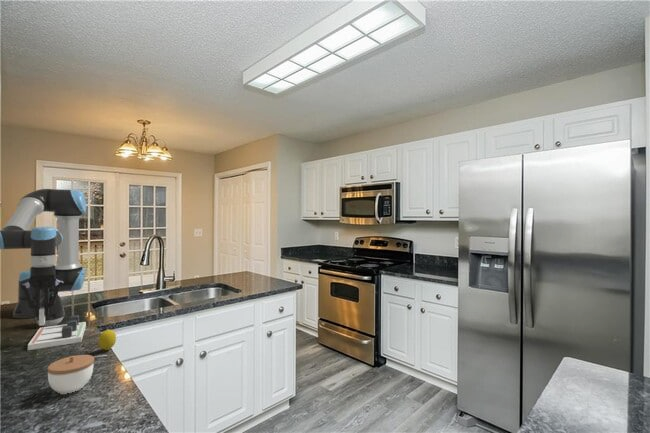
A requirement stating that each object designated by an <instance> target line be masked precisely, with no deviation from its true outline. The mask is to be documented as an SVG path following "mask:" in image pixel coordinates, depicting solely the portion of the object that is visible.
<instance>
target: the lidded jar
mask: <svg viewBox="0 0 650 433" xmlns="http://www.w3.org/2000/svg"><path fill="white" fill-rule="evenodd" d="M94 364H95V357H94V356H93V355H90V354H78V355H71V356H67V357H63V358H61V359H58V360H55V361H54V362H52V363H51V364H49V365H48V367H47V379H48V380H47V381H48V383H49V386H50V388H51V389H52V390H53V391H55V392H56V393H58V394H59V393H60V394H59V395H68V394H67V393H69V394H73V393H76V392H78V391H81V390H82V389H83V388H84V387H85V385H86V384H87V383H88V382H89V381H90V380H91V377H92V375H93V372H94V367H95V366H94ZM81 388H82V389H81ZM75 391H76V392H75ZM72 392H73V393H72Z"/></svg>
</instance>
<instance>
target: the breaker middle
mask: <svg viewBox="0 0 650 433" xmlns="http://www.w3.org/2000/svg"><path fill="white" fill-rule="evenodd" d="M66 324H67V326H72V331H73V330H76V329H77V320H72V321H70V320H68V321H67V322H66Z"/></svg>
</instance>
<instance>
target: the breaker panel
mask: <svg viewBox="0 0 650 433" xmlns="http://www.w3.org/2000/svg"><path fill="white" fill-rule="evenodd" d="M65 326H67V323H66V324H60V325H59V324H57V325H54V326H49V327H43V326H41V327H39V328H38V330H37V332H36V333H35V334H34V336H33V337H32V338H31V339H30V341H29V342H28V344H27V351H32V350H38V349H44V348H45V349H46V348H49V347H50V348H51V347H57V346H63V345H64V346H65V345H69V344H70V345H71V344H77V343H81V342H82V340H83V338H84V337H83V336H84V334H85V330H86V328H87V322H86V321H82V322H79V324H78V325H77V329H76V330H73V331H72V336H70V337H63V338H62V328H63V327H65Z"/></svg>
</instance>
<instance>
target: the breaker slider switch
mask: <svg viewBox="0 0 650 433" xmlns="http://www.w3.org/2000/svg"><path fill="white" fill-rule="evenodd" d="M70 336H72V326H65V327H63V328H62V338H63V337H70Z"/></svg>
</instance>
